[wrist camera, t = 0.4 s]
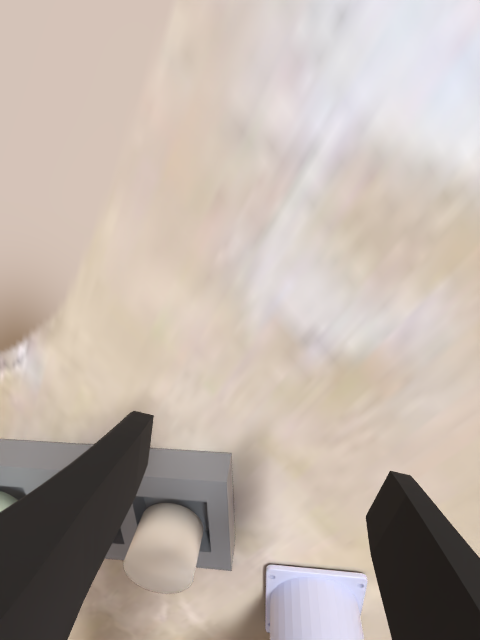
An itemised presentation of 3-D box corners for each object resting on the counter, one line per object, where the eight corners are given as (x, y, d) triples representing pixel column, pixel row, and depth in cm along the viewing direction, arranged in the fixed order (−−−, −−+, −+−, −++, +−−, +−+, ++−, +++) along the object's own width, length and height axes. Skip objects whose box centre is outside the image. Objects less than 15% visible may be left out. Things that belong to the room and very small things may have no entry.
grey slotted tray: (235, 538, 27) (231, 570, 24) (-5, 517, 29) (-29, 545, 27) (231, 453, 23) (226, 482, 21) (-42, 436, 25) (-73, 461, 23)
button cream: (205, 548, 24) (196, 597, 21) (146, 543, 24) (129, 589, 21) (201, 505, 22) (190, 552, 19) (137, 500, 22) (117, 545, 20)
